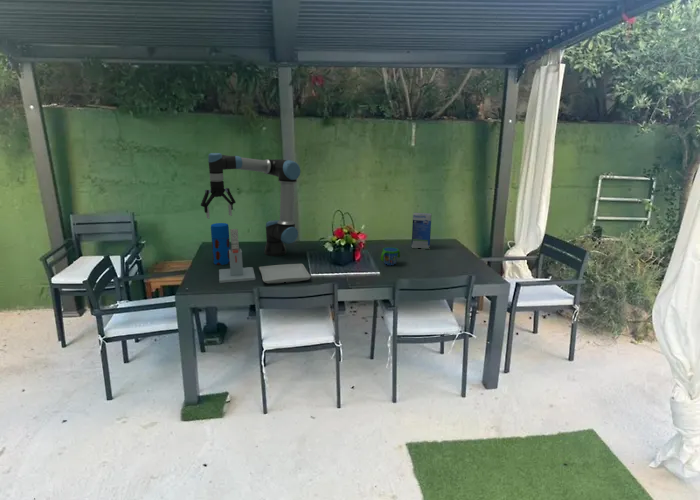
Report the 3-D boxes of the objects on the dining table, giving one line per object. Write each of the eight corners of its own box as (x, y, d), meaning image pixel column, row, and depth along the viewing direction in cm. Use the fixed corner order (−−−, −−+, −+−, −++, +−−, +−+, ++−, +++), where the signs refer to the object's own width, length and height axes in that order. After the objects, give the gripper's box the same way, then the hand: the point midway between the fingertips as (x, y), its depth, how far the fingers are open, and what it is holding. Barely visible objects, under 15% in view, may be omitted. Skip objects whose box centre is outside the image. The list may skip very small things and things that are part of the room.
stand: (252, 269, 273) (251, 243, 269) (255, 280, 255) (254, 252, 250) (219, 271, 268) (217, 246, 263) (219, 282, 249) (217, 255, 245)
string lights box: (429, 247, 328) (432, 213, 320) (429, 250, 320) (431, 215, 313) (411, 246, 330) (413, 212, 323) (410, 248, 323) (412, 214, 316)
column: (240, 271, 263) (237, 228, 256) (240, 273, 259) (237, 230, 252) (232, 271, 262) (230, 229, 255) (233, 274, 258) (230, 230, 251)
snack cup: (394, 260, 295) (395, 245, 293) (404, 264, 287) (405, 249, 284) (375, 264, 287) (376, 248, 284) (385, 268, 279) (386, 252, 276)
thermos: (225, 265, 280) (223, 227, 273) (210, 264, 282) (207, 226, 275) (233, 260, 290) (231, 223, 283) (218, 259, 292) (215, 222, 285)
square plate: (311, 282, 253) (311, 276, 252) (263, 287, 245) (263, 280, 244) (302, 268, 278) (302, 262, 277) (258, 271, 270) (258, 265, 269)
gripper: (234, 178, 264) (236, 213, 270) (192, 181, 249) (196, 218, 255) (239, 179, 258) (241, 215, 264) (197, 182, 243) (200, 220, 249)
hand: (219, 216), depth 259 cm, fingers open, 13 cm apart
